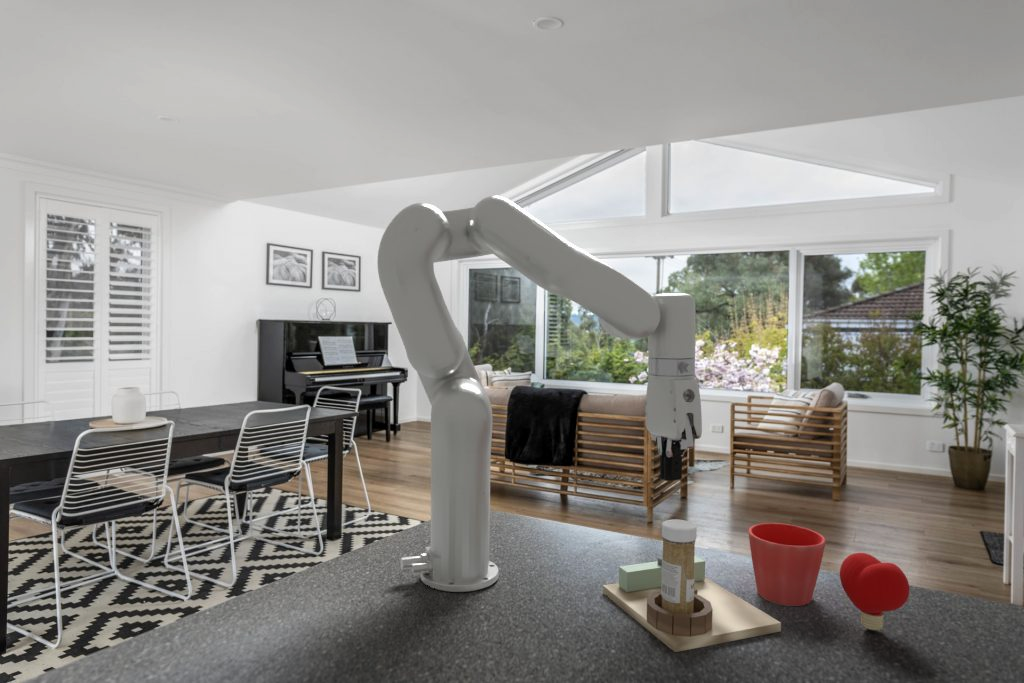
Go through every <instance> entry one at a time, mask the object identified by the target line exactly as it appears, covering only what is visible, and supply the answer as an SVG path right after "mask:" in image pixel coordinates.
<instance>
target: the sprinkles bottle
mask: <svg viewBox="0 0 1024 683" xmlns="http://www.w3.org/2000/svg"><path fill="white" fill-rule="evenodd" d="M697 536H698V535H697V524H695V523H694V522H692V521H688V520H685V519H679V518H677V519H666V520H664V521H663V522H662V524H661V537H662V556H661V557H662V588H661V595H662V609H663V610H666V611H669V612H673V613H679V614H692V613H694V574H695V565H694V556H696V554H695V551H696V550H695V549H696V548H695V547H696V546H695V544H696V539H697Z"/></svg>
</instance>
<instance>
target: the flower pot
mask: <svg viewBox="0 0 1024 683" xmlns="http://www.w3.org/2000/svg"><path fill="white" fill-rule="evenodd" d="M748 539H749V549H750V556H751V561H752V569H753V574H754V579H755V580H754V581H755V585H756V590H757V593H758V595H759V596H760V597H761V598H763V599H764V600H766V601H768V602H770V603H773V604H776V605H781V606H787V607H799V606H801V607H802V606H805V605H808V604H810V603H811V601H812V600H813V597H814V596H813V595H814V592H815V588H816V583H817V581H818V578H819V572H820V569H821V565H822V560H823V558H824V557H823V556H824V551H825V547H826V546H825V545H826V538H825V537H824V536H823V535H822V534H821V533H818V532H817V531H814V530H812V529H810V528H806V527H803V526H798V525H793V524H787V523H778V522H768V523H767V522H766V523H765V522H764V523H758V524H755V525H752V526H750V527H749V529H748Z"/></svg>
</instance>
